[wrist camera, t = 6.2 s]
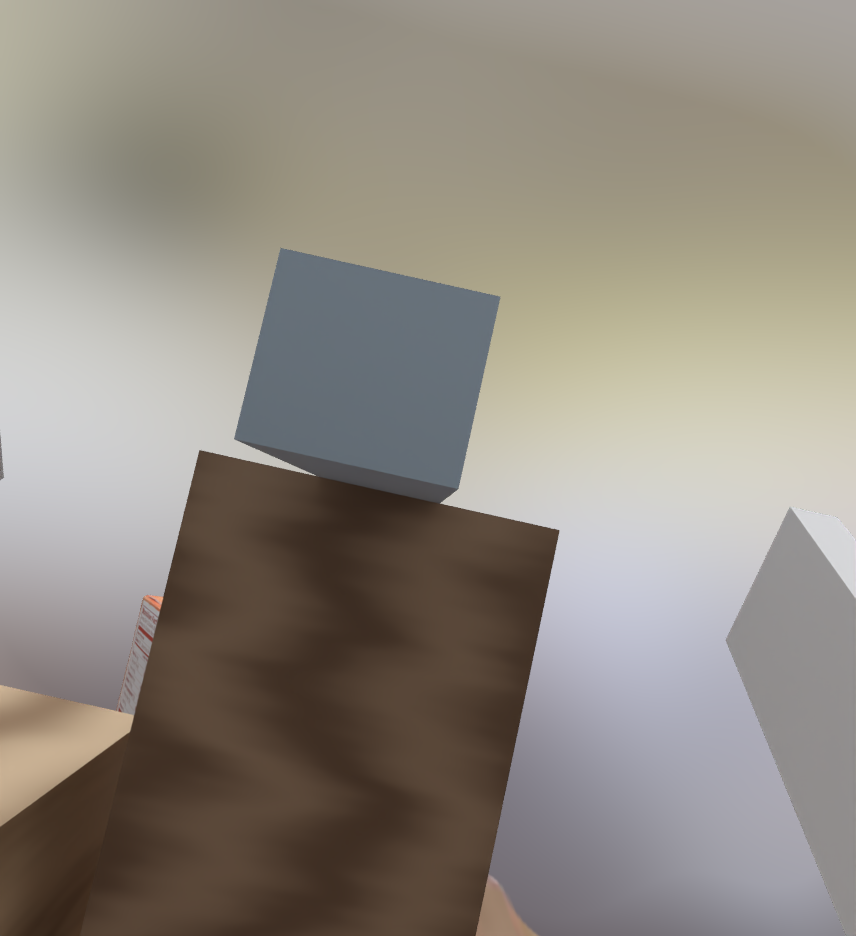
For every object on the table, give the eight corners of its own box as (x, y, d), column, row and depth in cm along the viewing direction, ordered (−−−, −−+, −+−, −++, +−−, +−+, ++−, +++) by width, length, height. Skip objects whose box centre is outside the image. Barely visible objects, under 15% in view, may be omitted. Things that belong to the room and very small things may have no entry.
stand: (-45, 1438, 21) (199, 450, 24) (121, 1108, 33) (273, 473, 36) (352, 1527, 21) (559, 530, 24) (376, 1166, 33) (511, 526, 36)
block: (234, 439, 13) (280, 248, 13) (360, 495, 41) (374, 434, 41) (458, 489, 13) (500, 296, 13) (430, 510, 41) (443, 449, 41)
